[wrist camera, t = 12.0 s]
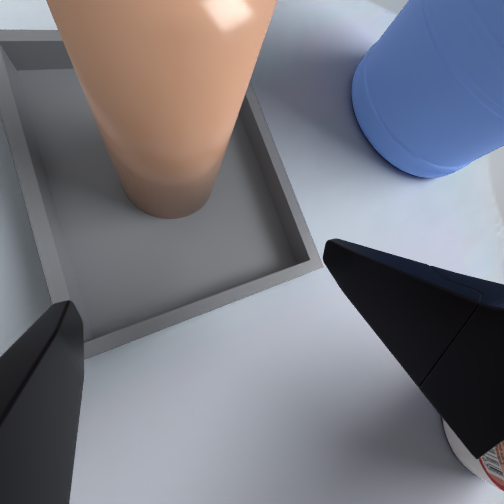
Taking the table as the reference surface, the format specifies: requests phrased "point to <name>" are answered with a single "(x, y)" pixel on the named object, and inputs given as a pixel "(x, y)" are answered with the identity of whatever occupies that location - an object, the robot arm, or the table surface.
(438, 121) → the water jug
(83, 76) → the peach rounded cylinder
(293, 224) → the grey tray
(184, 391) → the table surface
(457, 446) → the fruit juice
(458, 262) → the table surface
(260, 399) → the table surface
